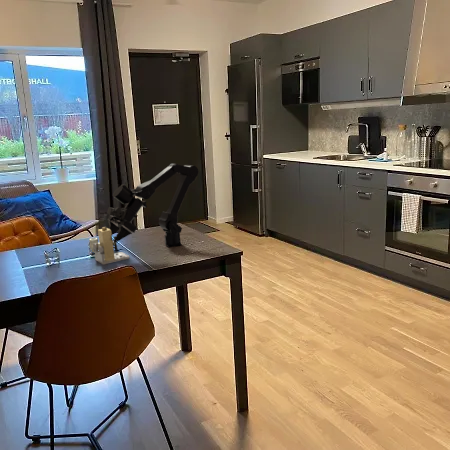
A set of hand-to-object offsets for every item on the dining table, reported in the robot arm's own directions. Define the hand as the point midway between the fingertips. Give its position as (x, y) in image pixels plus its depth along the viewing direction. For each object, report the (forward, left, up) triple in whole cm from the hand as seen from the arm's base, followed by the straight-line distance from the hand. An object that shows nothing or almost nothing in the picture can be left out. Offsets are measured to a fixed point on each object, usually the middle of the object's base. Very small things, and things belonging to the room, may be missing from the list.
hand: (110, 240), depth 204 cm
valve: (+2, -15, -9) cm, 18 cm away
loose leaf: (+2, +1, -8) cm, 8 cm away
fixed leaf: (0, 0, -9) cm, 9 cm away
